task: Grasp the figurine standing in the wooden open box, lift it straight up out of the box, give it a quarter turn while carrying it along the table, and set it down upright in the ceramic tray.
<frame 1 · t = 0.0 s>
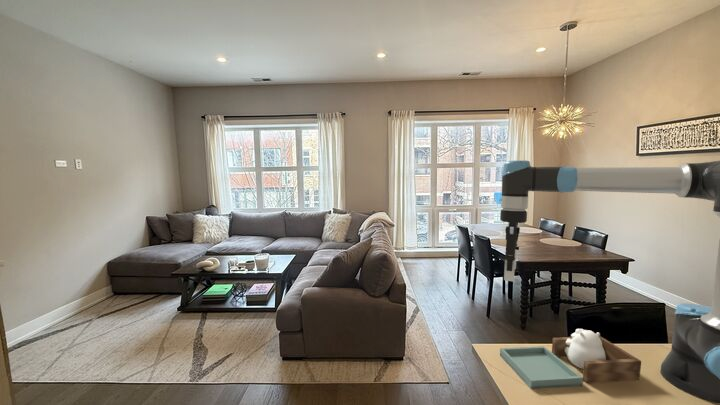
hand: (510, 274, 95), 28 cm above the kitchen island, fingers open, 13 cm apart
tray: (537, 369, 91), on the kitchen island
wooden open box: (585, 367, 92), on the kitchen island
figurine: (585, 367, 92), resting in wooden open box
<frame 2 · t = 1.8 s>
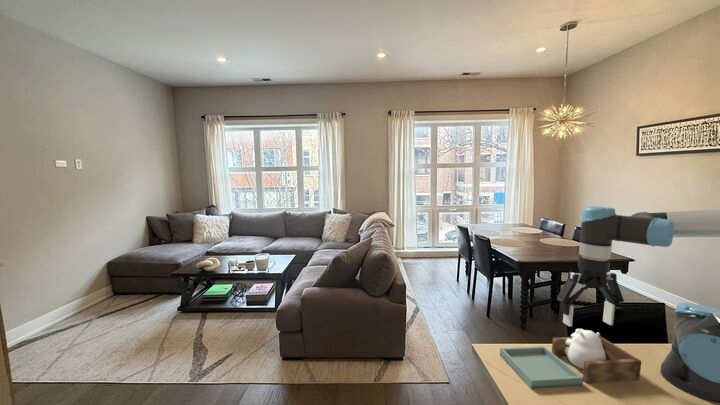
hand: (587, 323, 91), 14 cm above the kitchen island, fingers open, 13 cm apart
nothing on the kitchen island moved.
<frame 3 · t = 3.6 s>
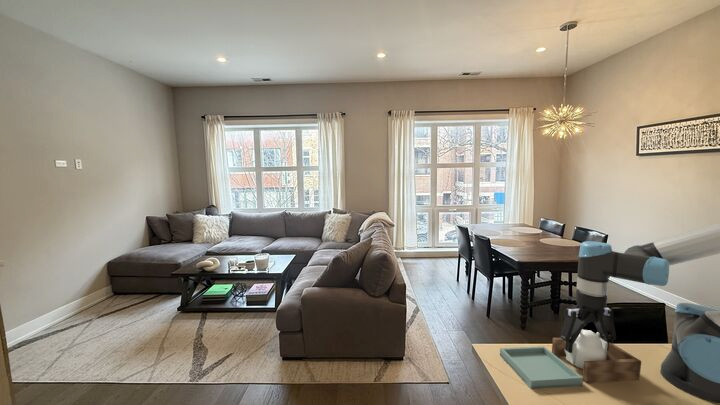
hand: (585, 360, 92), 2 cm above the kitchen island, fingers closed on figurine, 10 cm apart
figurine: (584, 367, 92), resting in wooden open box, touching gripper
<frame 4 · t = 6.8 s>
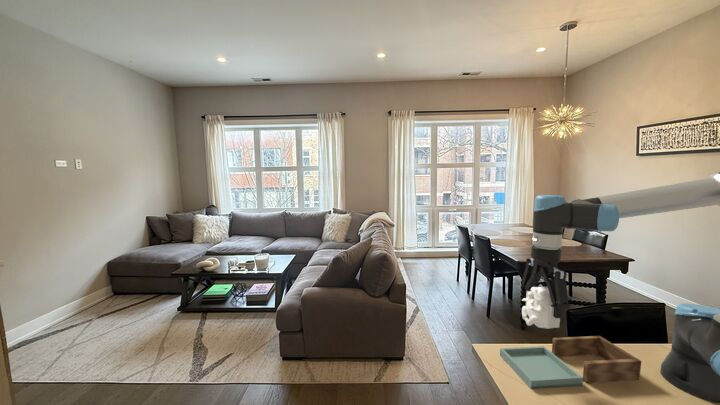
hand: (541, 318, 89), 17 cm above the kitchen island, fingers closed on figurine, 10 cm apart
figurine: (540, 325, 89), point 14 cm above the kitchen island, touching gripper
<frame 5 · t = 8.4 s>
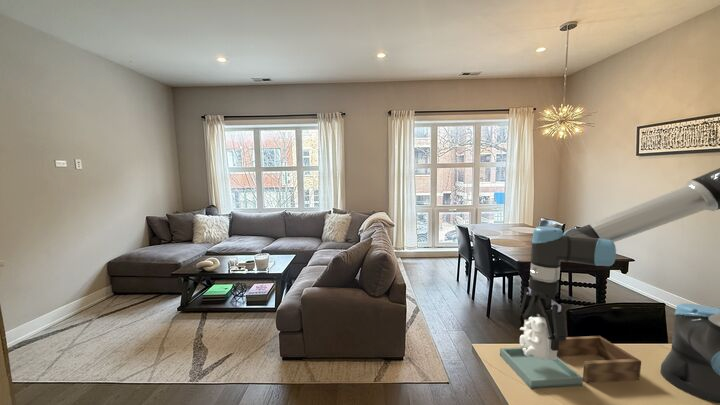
hand: (538, 348, 90), 7 cm above the kitchen island, fingers closed on figurine, 10 cm apart
figurine: (538, 355, 90), point 5 cm above the kitchen island, touching gripper
when the fingers open (5 cm above the kitchen island, at t = 9.8 s): figurine drops 2 cm, resting on tray.
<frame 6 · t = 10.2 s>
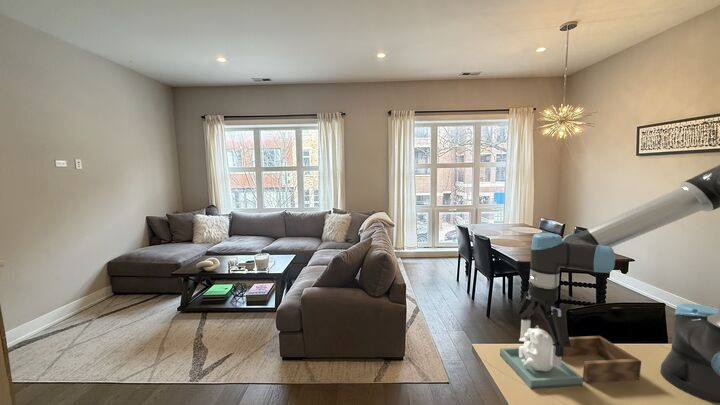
hand: (539, 351, 90), 6 cm above the kitchen island, fingers open, 13 cm apart
figurine: (537, 366, 91), point 1 cm above the kitchen island, touching tray
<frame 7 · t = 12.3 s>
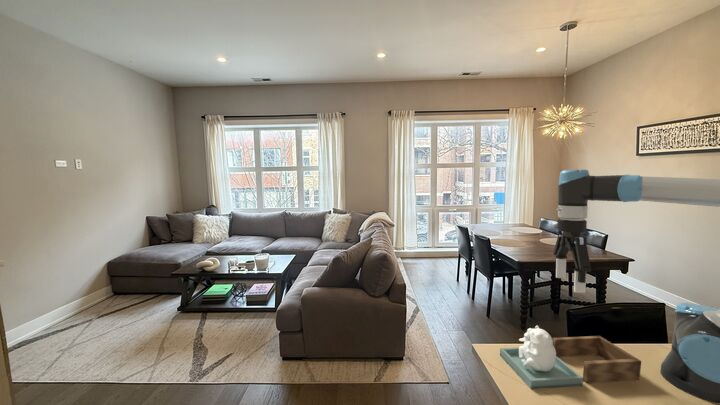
hand: (569, 284, 94), 25 cm above the kitchen island, fingers open, 13 cm apart
nothing on the kitchen island moved.
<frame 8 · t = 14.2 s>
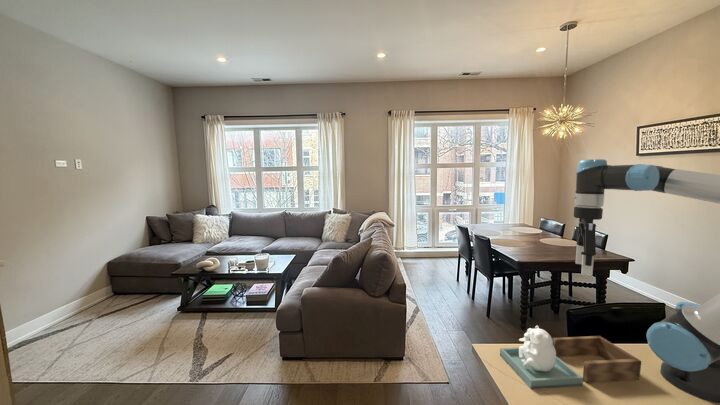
hand: (583, 269, 99), 29 cm above the kitchen island, fingers open, 13 cm apart
nothing on the kitchen island moved.
at the end: figurine inside the target area on the tray (0.4 cm from its centre), point 0.6 cm above the tray's base; figurine tilted 0°; the gripper is holding nothing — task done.
